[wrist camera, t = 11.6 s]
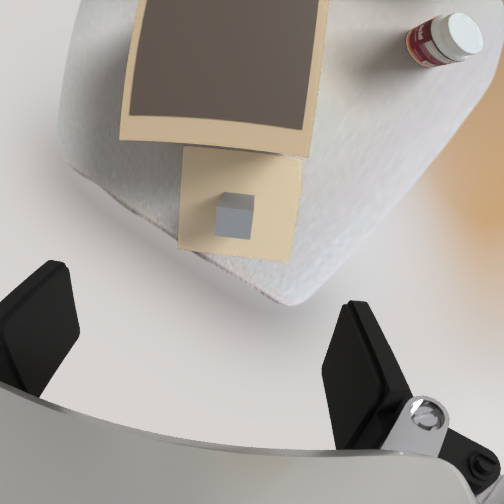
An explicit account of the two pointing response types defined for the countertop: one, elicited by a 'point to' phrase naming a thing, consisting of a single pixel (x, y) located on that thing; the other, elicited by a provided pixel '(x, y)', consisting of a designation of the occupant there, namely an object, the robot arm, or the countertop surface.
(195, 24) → the carton
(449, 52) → the pill bottle
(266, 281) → the countertop surface
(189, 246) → the flap
